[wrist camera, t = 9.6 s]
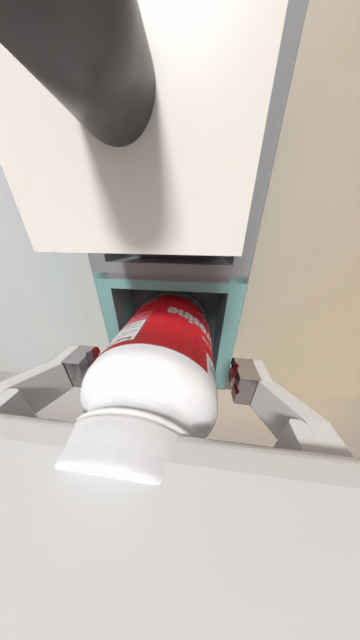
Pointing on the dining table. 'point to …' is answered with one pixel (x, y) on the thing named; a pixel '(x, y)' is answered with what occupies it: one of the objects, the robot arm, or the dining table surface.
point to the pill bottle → (145, 393)
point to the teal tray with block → (148, 141)
